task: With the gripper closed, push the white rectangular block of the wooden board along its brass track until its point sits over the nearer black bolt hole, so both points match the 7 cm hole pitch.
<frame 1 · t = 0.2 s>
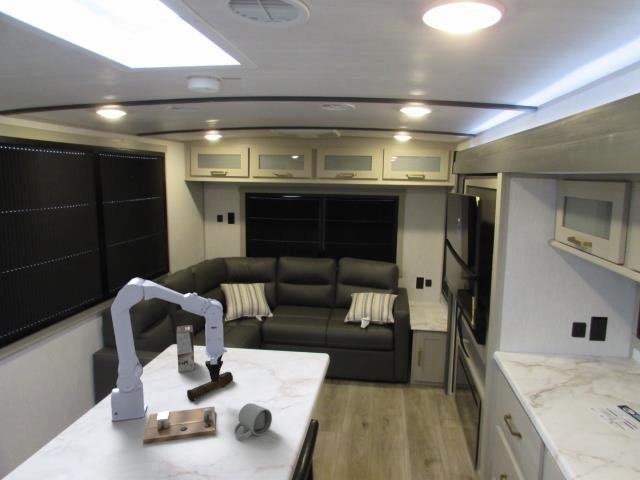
hand: (215, 376, 145), 10 cm above the table, tool pointing down, fingers open, 7 cm apart
ceramic mug: (251, 432, 130), on the table
hand tool: (211, 391, 156), on the table
wooden board: (181, 426, 133), on the table
coffee box: (186, 367, 176), on the table
white rectangular block: (163, 420, 130), point 3 cm above the table, slide at 0.0 cm
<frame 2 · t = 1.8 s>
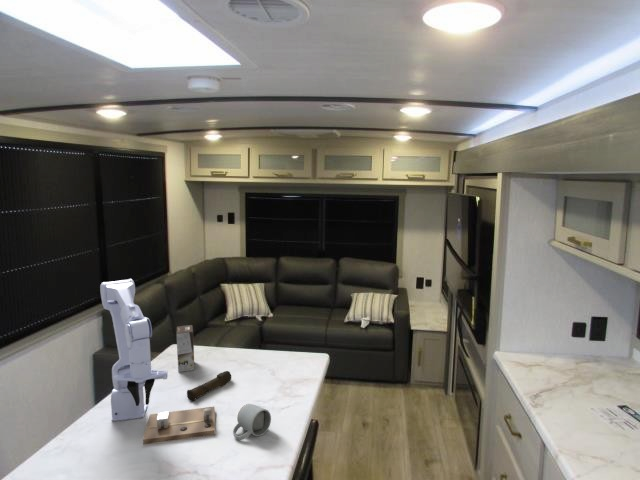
hand: (142, 403, 128), 9 cm above the table, tool pointing down, fingers closed
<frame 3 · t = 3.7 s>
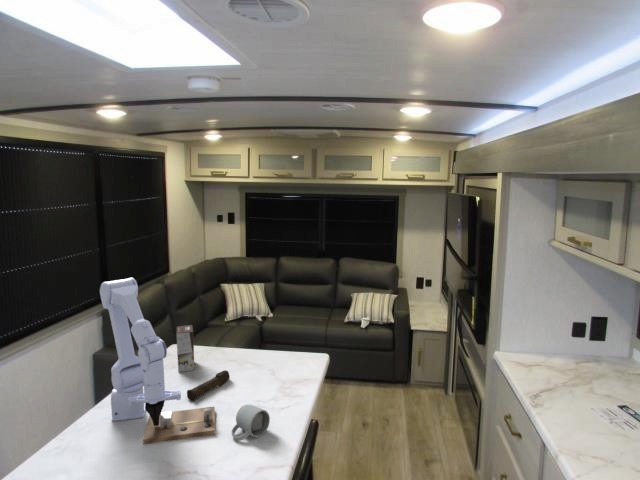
hand: (156, 424, 130), 2 cm above the table, tool pointing down, fingers closed
white rectangular block: (166, 420, 130), point 3 cm above the table, slide at 0.9 cm, touching gripper
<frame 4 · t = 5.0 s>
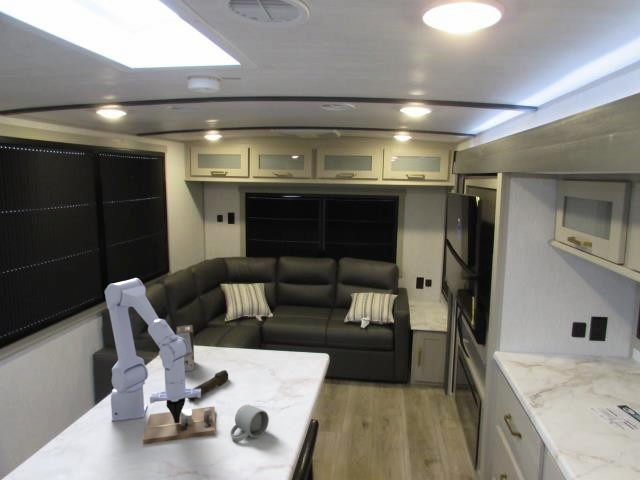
hand: (177, 421, 131), 2 cm above the table, tool pointing down, fingers closed
white rectangular block: (186, 417, 131), point 3 cm above the table, slide at 6.8 cm, touching gripper
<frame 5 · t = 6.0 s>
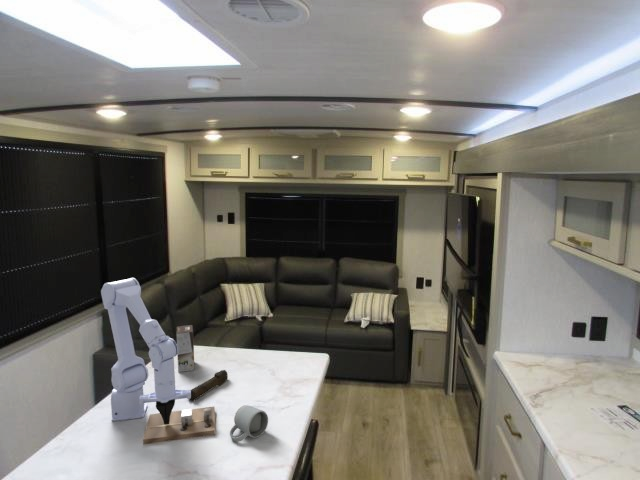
hand: (166, 422, 130), 2 cm above the table, tool pointing down, fingers closed
white rectangular block: (186, 417, 131), point 3 cm above the table, slide at 6.9 cm
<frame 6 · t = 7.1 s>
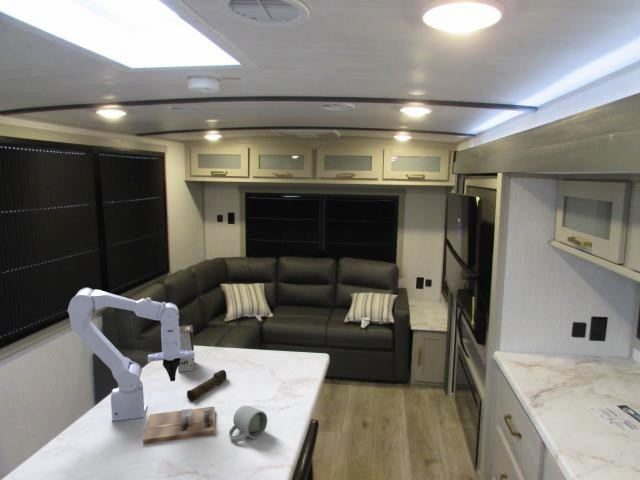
hand: (172, 380, 143), 9 cm above the table, tool pointing down, fingers closed
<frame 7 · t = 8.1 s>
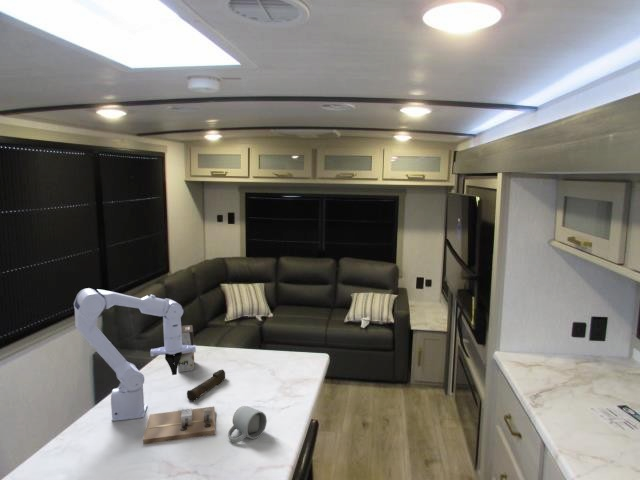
hand: (174, 373, 148), 9 cm above the table, tool pointing down, fingers closed
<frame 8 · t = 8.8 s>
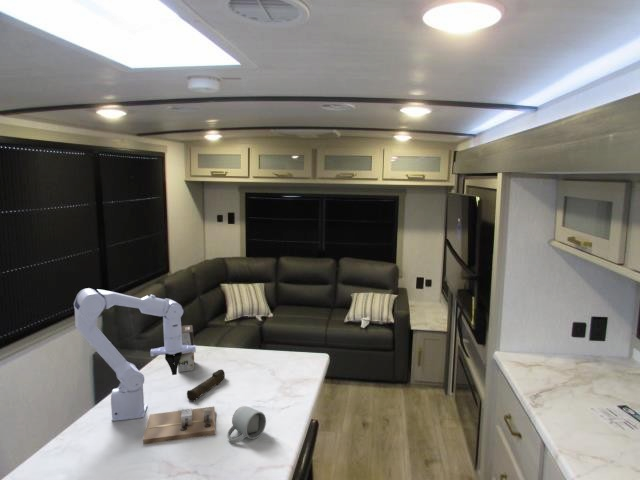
hand: (174, 373, 148), 9 cm above the table, tool pointing down, fingers closed
at the end: white rectangular block slide at 6.9 cm; hand tool moved 2.0 cm from its start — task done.
